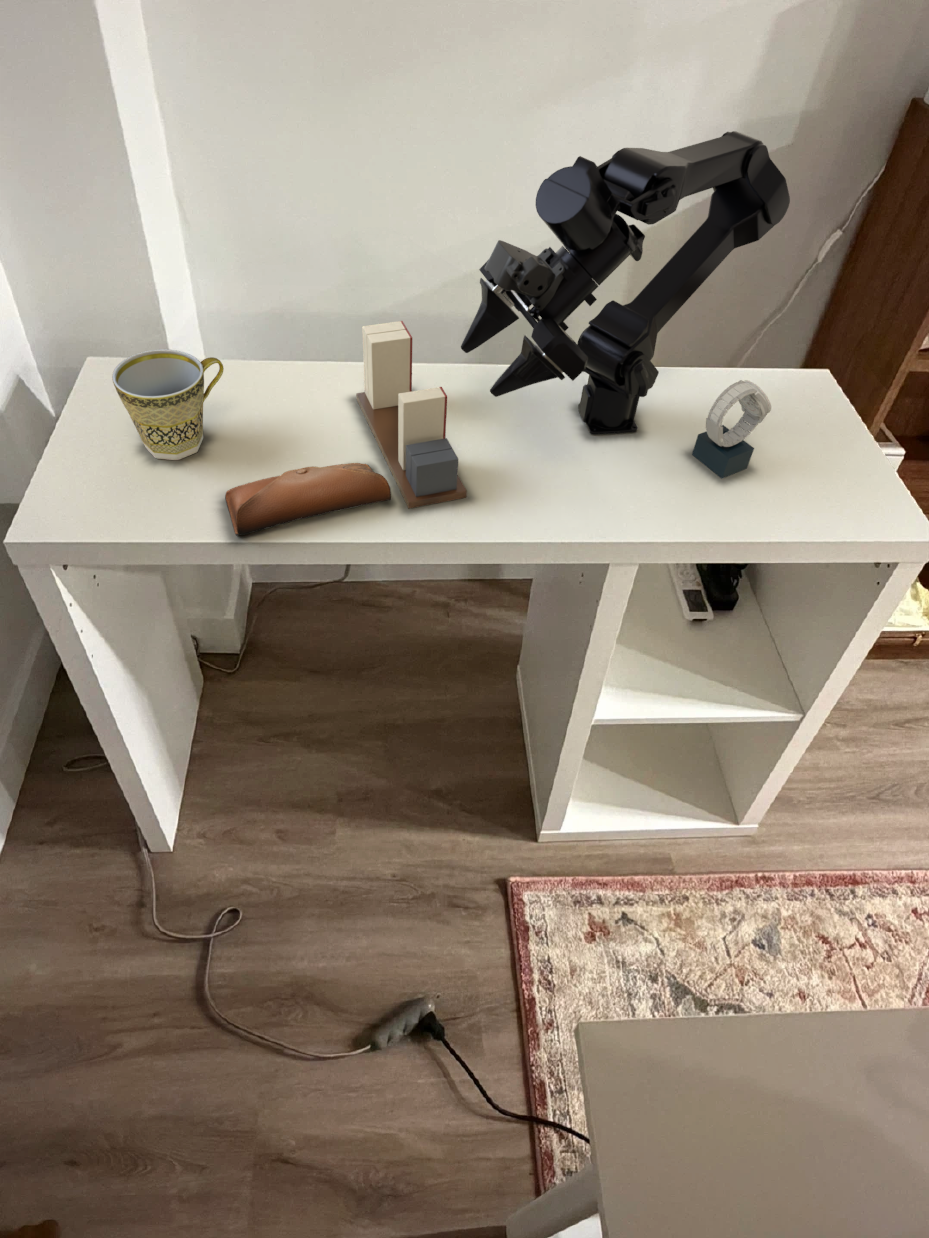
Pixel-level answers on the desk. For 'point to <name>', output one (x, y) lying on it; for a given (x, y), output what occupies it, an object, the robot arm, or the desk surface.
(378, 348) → the white books
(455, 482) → the grey books
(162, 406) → the ceramic cup
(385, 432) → the shelf board
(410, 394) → the white book
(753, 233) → the robot arm
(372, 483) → the sunglasses case
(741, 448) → the watch
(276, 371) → the desk surface
